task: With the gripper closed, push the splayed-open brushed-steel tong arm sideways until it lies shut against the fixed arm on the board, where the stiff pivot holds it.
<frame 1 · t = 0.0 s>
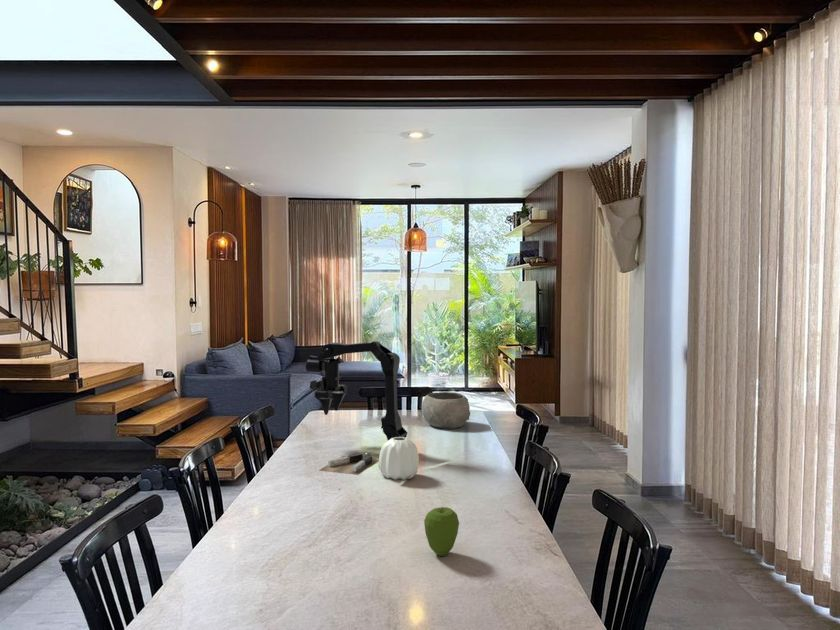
hand: (331, 412, 241), 15 cm above the table, fingers open, 9 cm apart
board: (350, 467, 216), on the table
tong arm: (345, 459, 218), point 2 cm above the table, hinge at 30.0°
tongs fixed: (367, 460, 222), resting on board
bowl: (445, 426, 287), on the table
apple: (441, 554, 144), on the table
vase: (398, 477, 205), on the table
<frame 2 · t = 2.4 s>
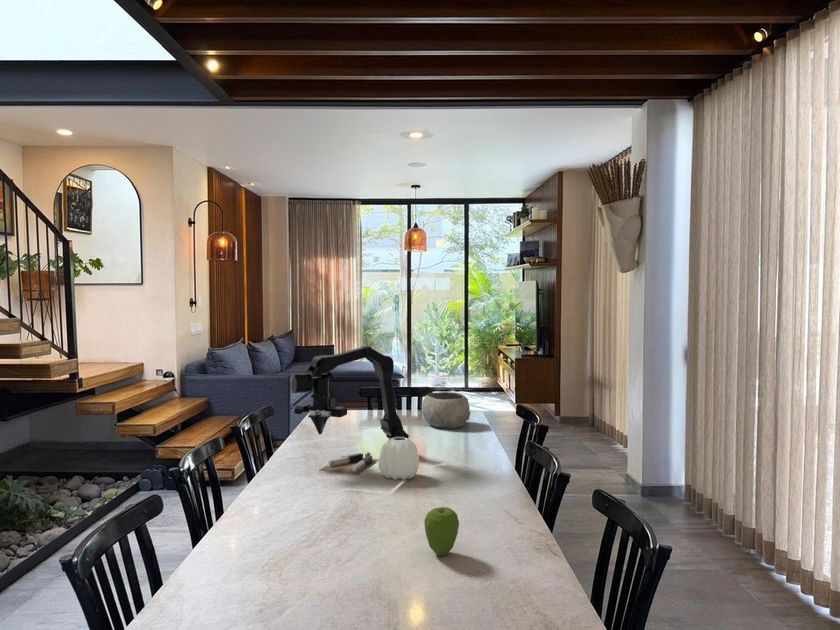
hand: (320, 434, 216), 12 cm above the table, fingers closed
nothing on the table moved.
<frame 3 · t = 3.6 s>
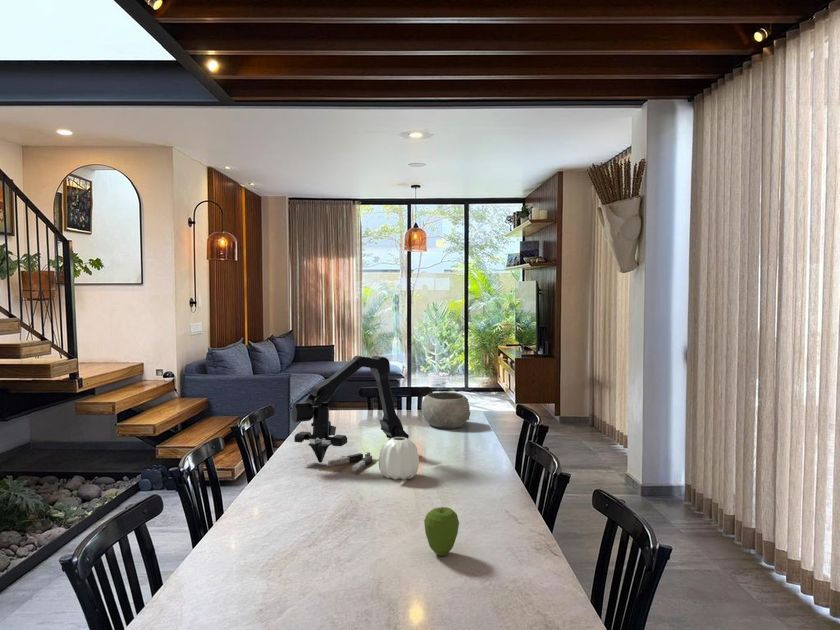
hand: (320, 462, 216), 1 cm above the table, fingers closed
nothing on the table moved.
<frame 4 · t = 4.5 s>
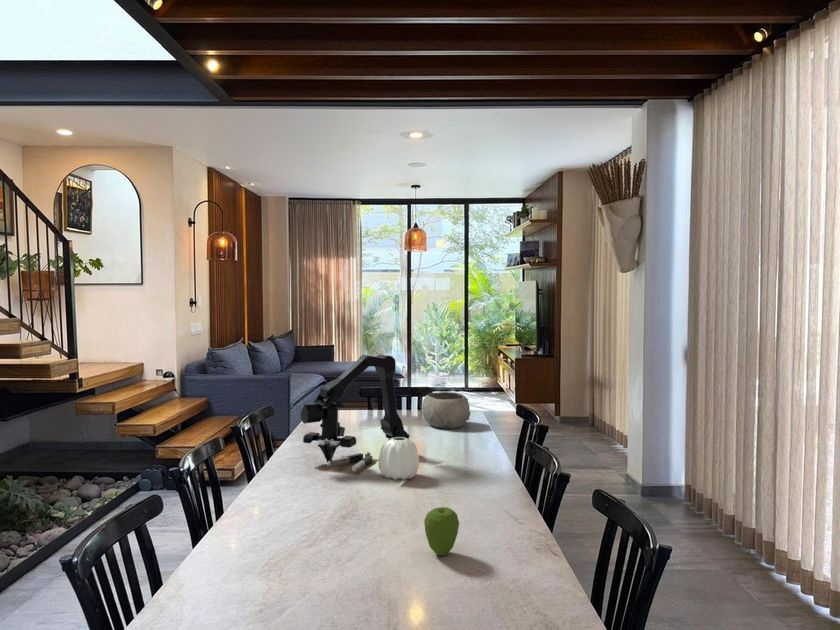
hand: (329, 463, 215), 1 cm above the table, fingers closed
tong arm: (345, 459, 217), point 2 cm above the table, hinge at 29.4°, touching gripper
everything else where it was.
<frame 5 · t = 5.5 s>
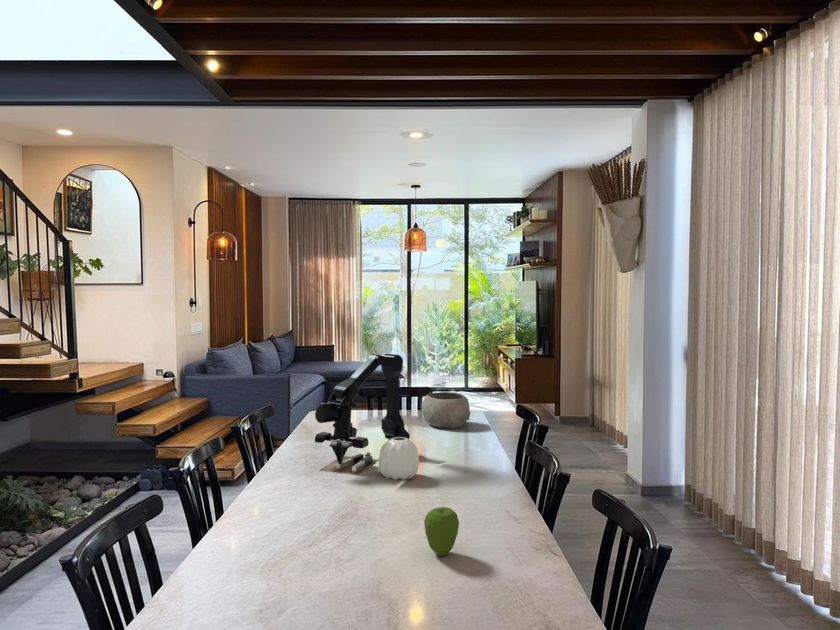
hand: (340, 464, 213), 2 cm above the table, fingers closed
tong arm: (350, 461, 215), point 2 cm above the table, hinge at 11.6°, touching gripper
everything else where it was.
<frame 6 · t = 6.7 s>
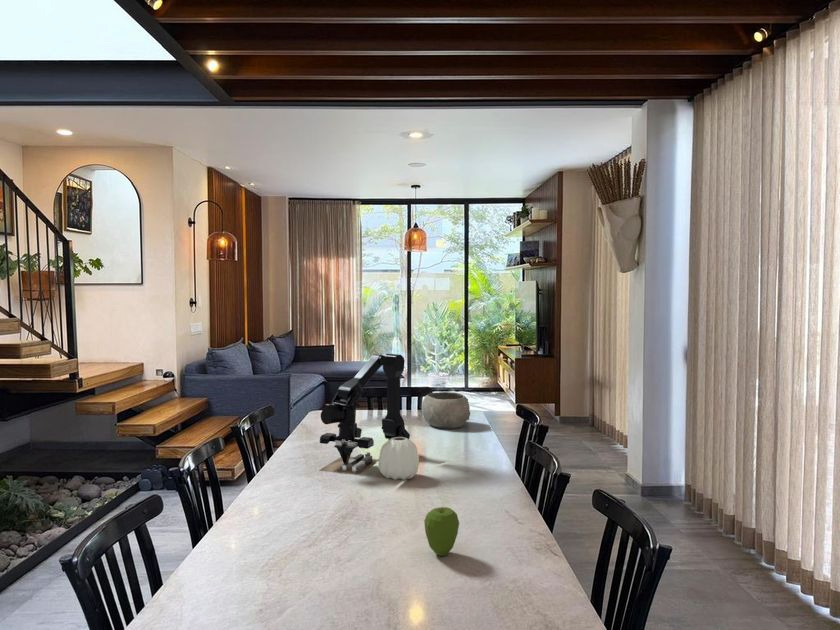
hand: (345, 464, 212), 2 cm above the table, fingers closed
tong arm: (353, 462, 215), point 2 cm above the table, hinge at 1.8°, touching gripper
everything else where it was.
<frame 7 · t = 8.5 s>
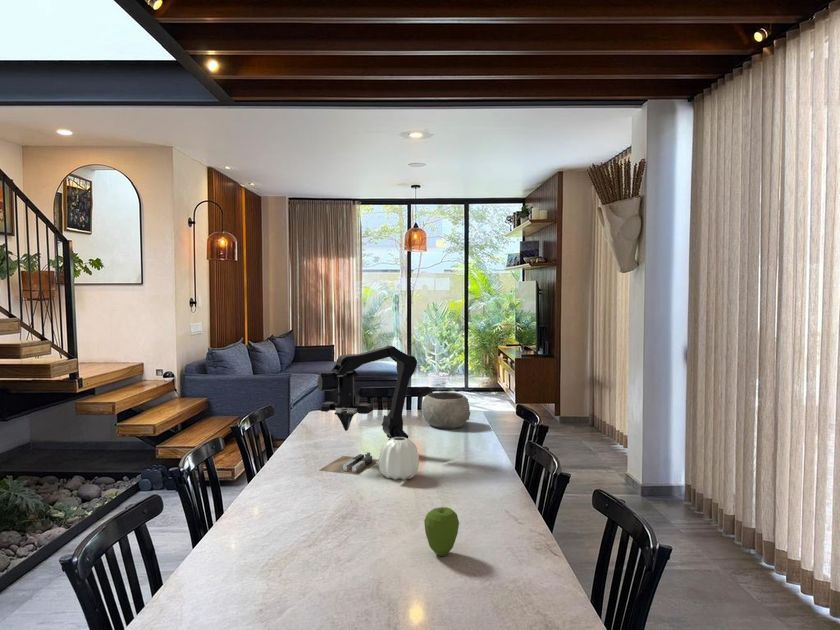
hand: (346, 430, 223), 12 cm above the table, fingers closed
tong arm: (353, 462, 214), point 2 cm above the table, hinge at 1.2°
everything else where it was.
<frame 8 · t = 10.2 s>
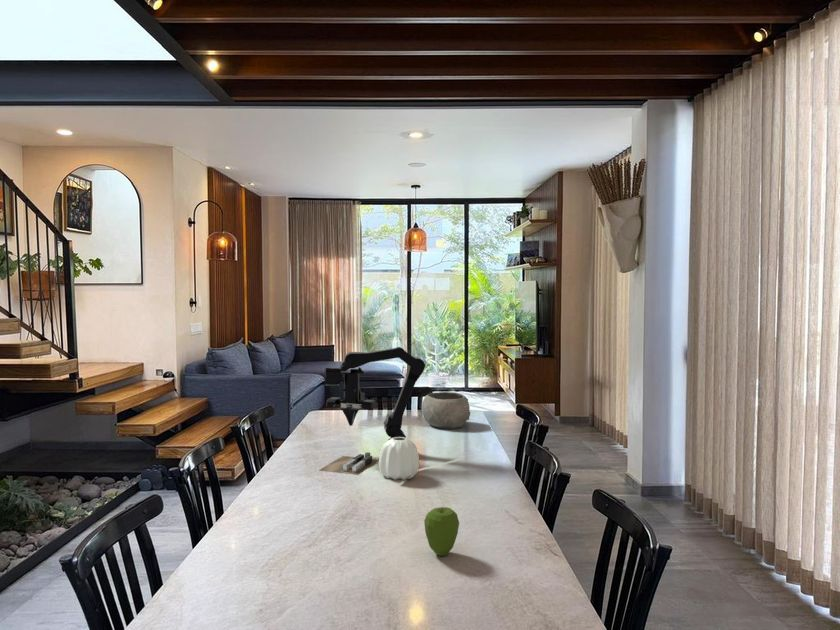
hand: (351, 425, 229), 12 cm above the table, fingers closed
nothing on the table moved.
at the end: tong arm at +1° (first picture: +30°); the gripper is holding nothing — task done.
